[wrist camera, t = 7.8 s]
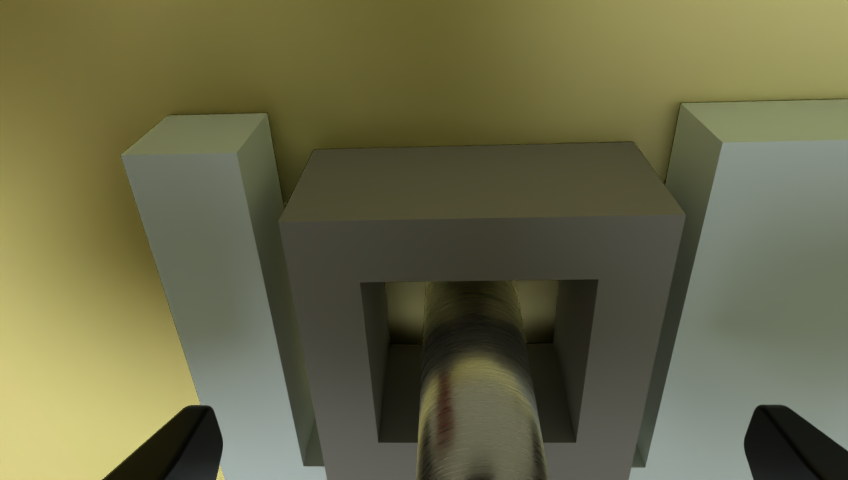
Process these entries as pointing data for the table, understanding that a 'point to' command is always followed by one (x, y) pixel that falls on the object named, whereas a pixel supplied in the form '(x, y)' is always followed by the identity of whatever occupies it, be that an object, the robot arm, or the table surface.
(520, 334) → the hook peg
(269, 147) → the grey walled base plate
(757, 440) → the robot arm
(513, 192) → the square hollow frame
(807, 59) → the table surface
